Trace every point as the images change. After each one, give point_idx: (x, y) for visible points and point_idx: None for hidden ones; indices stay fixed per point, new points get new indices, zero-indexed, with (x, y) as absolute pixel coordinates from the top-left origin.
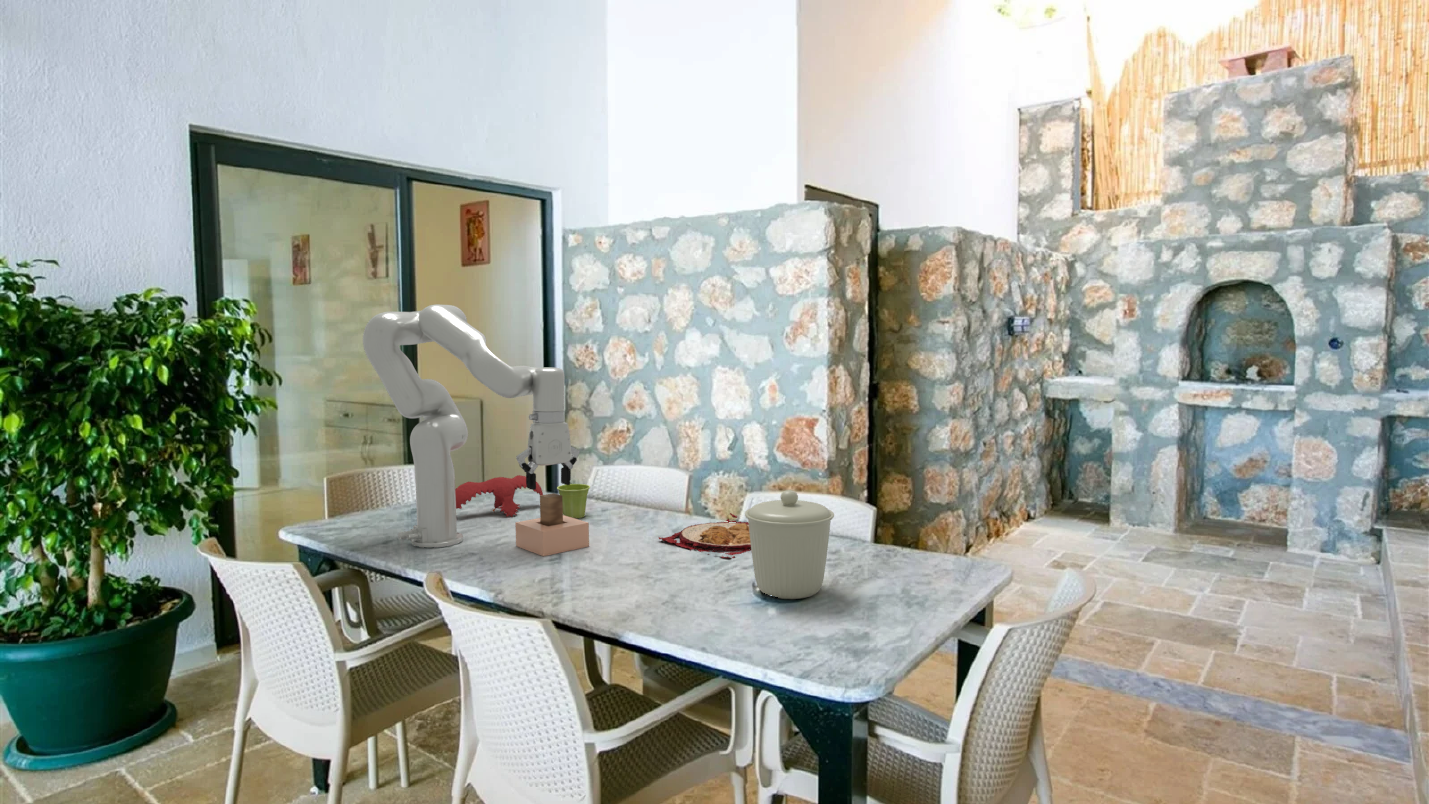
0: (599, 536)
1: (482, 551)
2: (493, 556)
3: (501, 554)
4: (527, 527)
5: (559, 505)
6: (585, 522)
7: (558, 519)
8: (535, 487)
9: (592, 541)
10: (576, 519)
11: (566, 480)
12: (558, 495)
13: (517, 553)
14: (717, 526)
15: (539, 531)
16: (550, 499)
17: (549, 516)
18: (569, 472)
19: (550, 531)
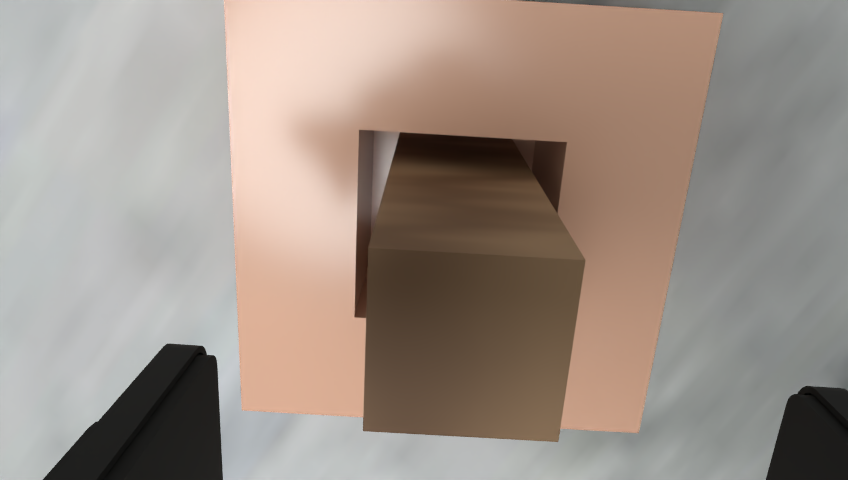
0: (79, 161)
1: (788, 382)
2: (831, 251)
3: (772, 254)
4: (669, 263)
5: (420, 211)
6: (241, 12)
7: (436, 175)
8: (823, 397)
9: (184, 88)
10: (240, 172)
11: (193, 407)
12: (399, 289)
13: (700, 203)
14: None
15: (707, 72)
16: (548, 249)
17: (536, 192)
18: (72, 468)
19: (638, 8)
